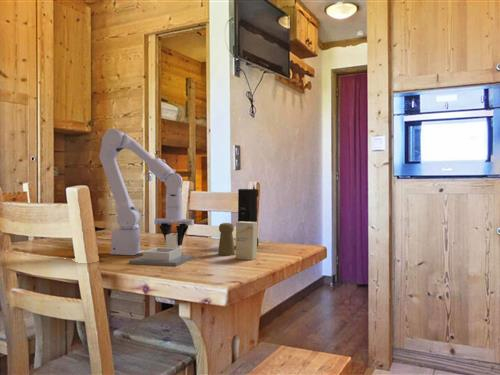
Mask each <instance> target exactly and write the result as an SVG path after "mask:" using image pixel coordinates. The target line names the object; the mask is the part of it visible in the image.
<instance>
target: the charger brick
mask: <svg viewBox="0 0 500 375" xmlns="http://www.w3.org/2000/svg"><path fill="white" fill-rule="evenodd" d="M165 248H181V250H182V249H183V244H182V245H180V246H178V234H177V232H176V233H171V234H167V235H166V242H165Z"/></svg>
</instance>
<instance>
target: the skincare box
mask: <svg viewBox="0 0 500 375" xmlns="http://www.w3.org/2000/svg"><path fill="white" fill-rule="evenodd" d="M257 238H258V221H257V222H244V221H240V222H238V221H236V224H235V260H236V259H238V260H245V261H246V260H248V261H253V260H254V259H257V258H258V257H257V255H258V247H257Z"/></svg>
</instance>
